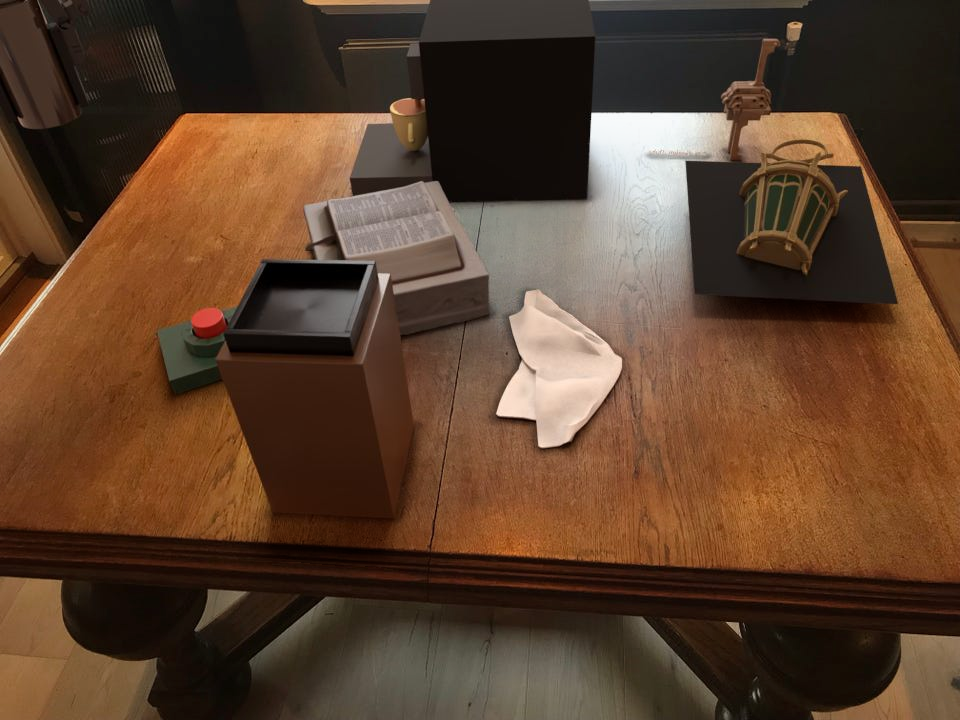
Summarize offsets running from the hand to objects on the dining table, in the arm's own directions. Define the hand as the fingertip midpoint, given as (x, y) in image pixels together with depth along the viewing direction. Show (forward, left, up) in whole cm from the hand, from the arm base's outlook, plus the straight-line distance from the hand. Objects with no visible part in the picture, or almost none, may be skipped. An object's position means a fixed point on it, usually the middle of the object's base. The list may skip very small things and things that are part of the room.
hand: (48, 108), depth 69 cm
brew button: (+7, +1, -29) cm, 29 cm away
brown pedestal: (+15, -24, -32) cm, 43 cm away
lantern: (+77, -14, -32) cm, 85 cm away
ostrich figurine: (+86, +12, -32) cm, 92 cm away
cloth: (+42, -20, -32) cm, 57 cm away
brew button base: (+7, +1, -32) cm, 33 cm away
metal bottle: (0, 0, -1) cm, 1 cm away
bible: (+31, +5, -32) cm, 45 cm away
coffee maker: (+51, +25, -32) cm, 66 cm away
